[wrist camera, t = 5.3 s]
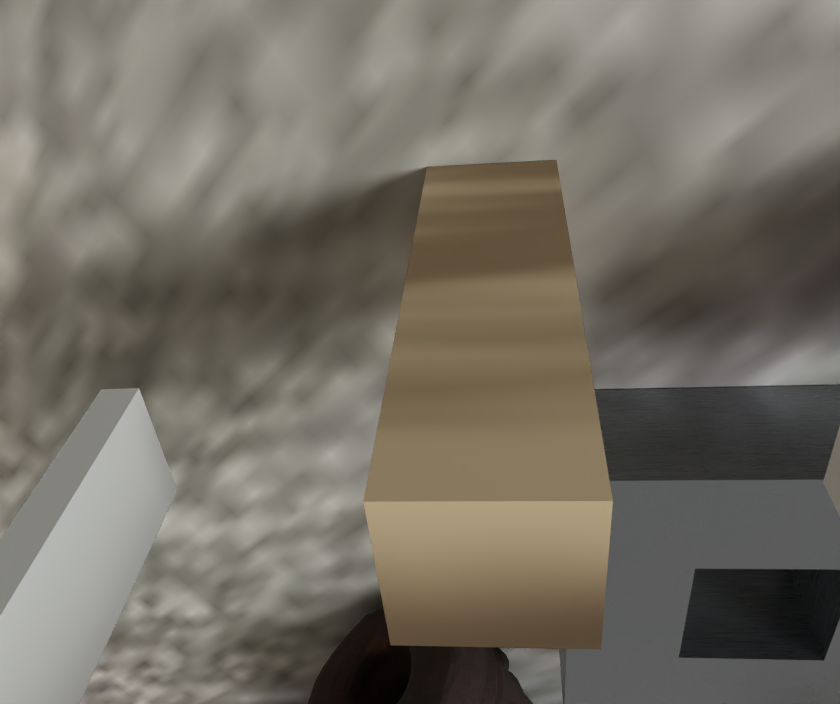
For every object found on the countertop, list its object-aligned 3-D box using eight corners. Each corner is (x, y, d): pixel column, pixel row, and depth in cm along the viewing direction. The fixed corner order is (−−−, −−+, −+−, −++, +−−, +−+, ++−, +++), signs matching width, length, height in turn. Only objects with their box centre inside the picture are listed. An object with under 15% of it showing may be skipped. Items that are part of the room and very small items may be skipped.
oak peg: (427, 166, 20) (363, 501, 11) (556, 159, 20) (612, 501, 10) (437, 277, 22) (390, 644, 13) (554, 273, 22) (600, 649, 12)
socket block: (562, 390, 24) (572, 481, 21) (967, 382, 23) (1045, 478, 20) (557, 619, 31) (564, 713, 28) (867, 623, 30) (912, 723, 27)
